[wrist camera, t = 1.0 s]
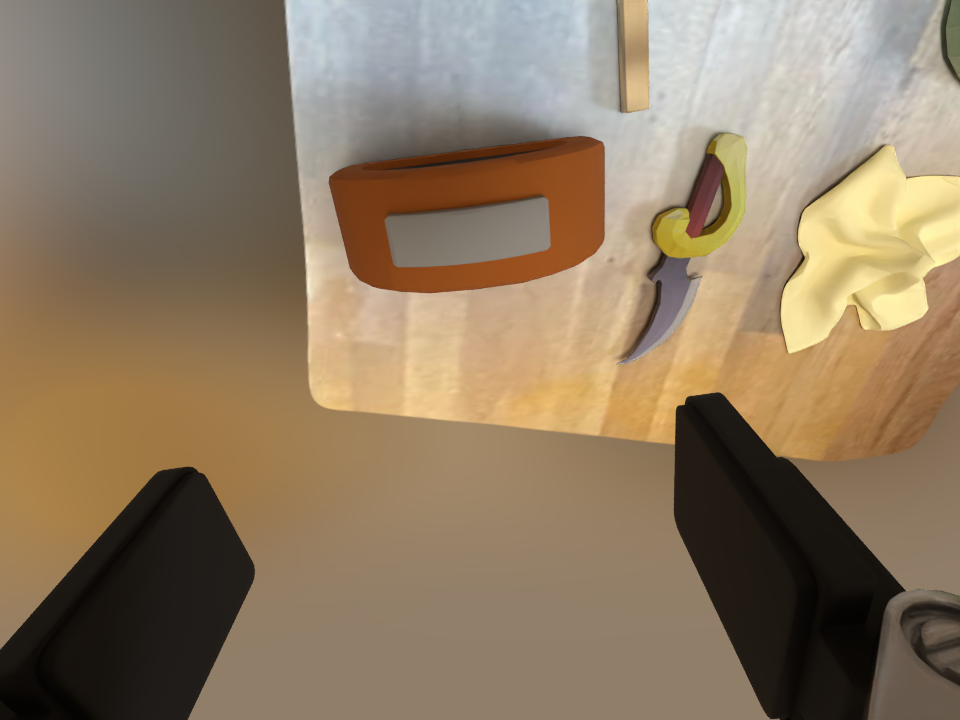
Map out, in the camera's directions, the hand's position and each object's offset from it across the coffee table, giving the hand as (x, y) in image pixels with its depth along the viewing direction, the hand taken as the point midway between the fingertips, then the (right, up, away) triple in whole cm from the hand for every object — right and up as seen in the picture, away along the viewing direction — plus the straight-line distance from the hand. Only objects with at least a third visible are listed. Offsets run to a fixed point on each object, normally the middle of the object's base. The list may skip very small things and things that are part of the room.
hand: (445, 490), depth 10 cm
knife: (+21, +13, +42) cm, 49 cm away
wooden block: (+14, +30, +33) cm, 47 cm away
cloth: (+42, +13, +42) cm, 61 cm away
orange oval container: (0, +19, +39) cm, 43 cm away
